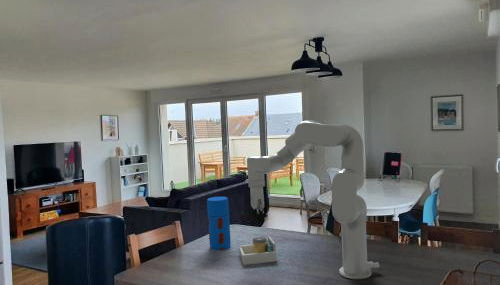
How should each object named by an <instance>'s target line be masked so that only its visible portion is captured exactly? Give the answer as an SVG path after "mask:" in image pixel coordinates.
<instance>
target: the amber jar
mask: <svg viewBox="0 0 500 285" xmlns="http://www.w3.org/2000/svg"><path fill="white" fill-rule="evenodd" d="M266 239H267V237H264V236H256V237H254V238H252V244H253V249H254V253H263V252H267V249H266Z"/></svg>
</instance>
